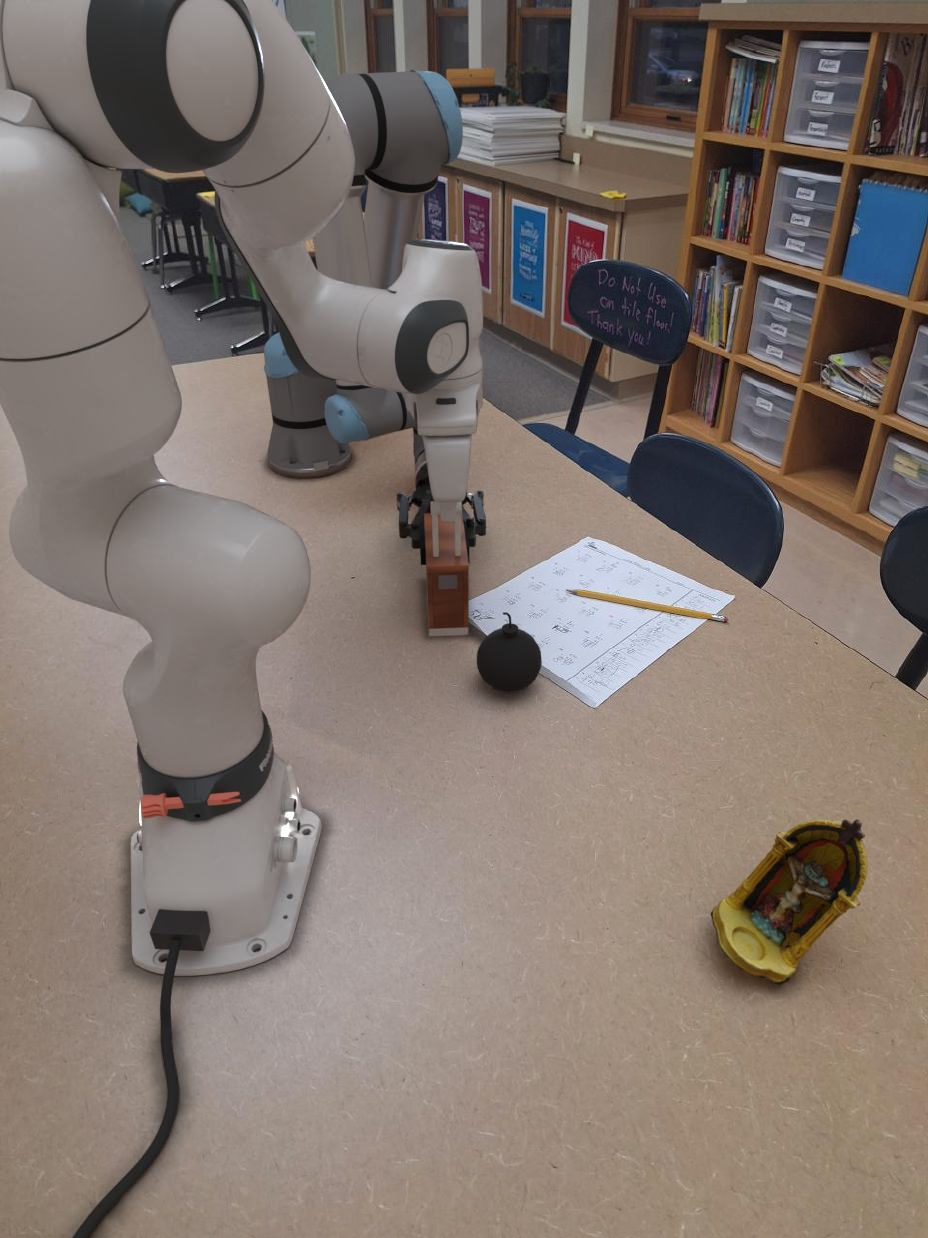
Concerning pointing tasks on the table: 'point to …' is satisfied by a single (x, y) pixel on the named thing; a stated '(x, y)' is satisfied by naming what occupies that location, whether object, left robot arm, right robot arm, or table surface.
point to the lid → (445, 541)
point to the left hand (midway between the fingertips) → (446, 500)
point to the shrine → (792, 897)
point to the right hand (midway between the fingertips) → (444, 555)
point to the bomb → (509, 658)
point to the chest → (448, 602)
